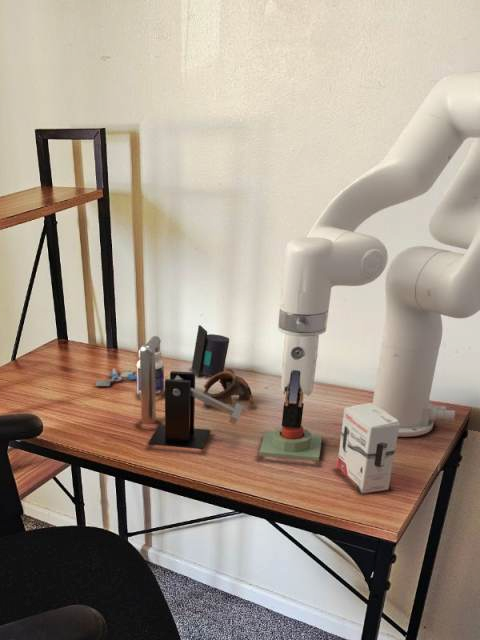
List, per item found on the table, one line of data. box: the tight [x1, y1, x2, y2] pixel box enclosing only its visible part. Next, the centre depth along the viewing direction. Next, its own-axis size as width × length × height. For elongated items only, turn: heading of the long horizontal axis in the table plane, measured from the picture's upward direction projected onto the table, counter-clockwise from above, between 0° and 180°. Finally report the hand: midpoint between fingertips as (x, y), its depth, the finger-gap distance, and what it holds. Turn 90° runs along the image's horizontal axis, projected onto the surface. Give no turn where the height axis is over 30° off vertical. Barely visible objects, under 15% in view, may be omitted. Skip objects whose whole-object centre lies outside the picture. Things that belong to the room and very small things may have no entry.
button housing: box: [258, 426, 323, 462], centre depth 125 cm, size 10×9×4 cm
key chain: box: [94, 368, 137, 387], centre depth 162 cm, size 14×8×1 cm, turn 118°
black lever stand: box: [148, 370, 212, 450], centre depth 128 cm, size 10×8×13 cm
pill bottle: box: [136, 349, 165, 397], centre depth 149 cm, size 6×6×10 cm
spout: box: [139, 335, 162, 425], centre depth 136 cm, size 4×9×16 cm, turn 162°
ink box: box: [337, 402, 399, 494], centre depth 113 cm, size 8×5×12 cm, turn 11°
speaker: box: [191, 324, 230, 378], centre depth 159 cm, size 8×6×10 cm
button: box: [281, 424, 304, 440], centre depth 124 cm, size 4×4×2 cm
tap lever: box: [174, 375, 244, 426], centre depth 126 cm, size 13×6×2 cm, turn 71°
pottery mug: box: [202, 368, 254, 407], centre depth 144 cm, size 12×10×8 cm
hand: (291, 425), depth 123 cm, fingers closed
